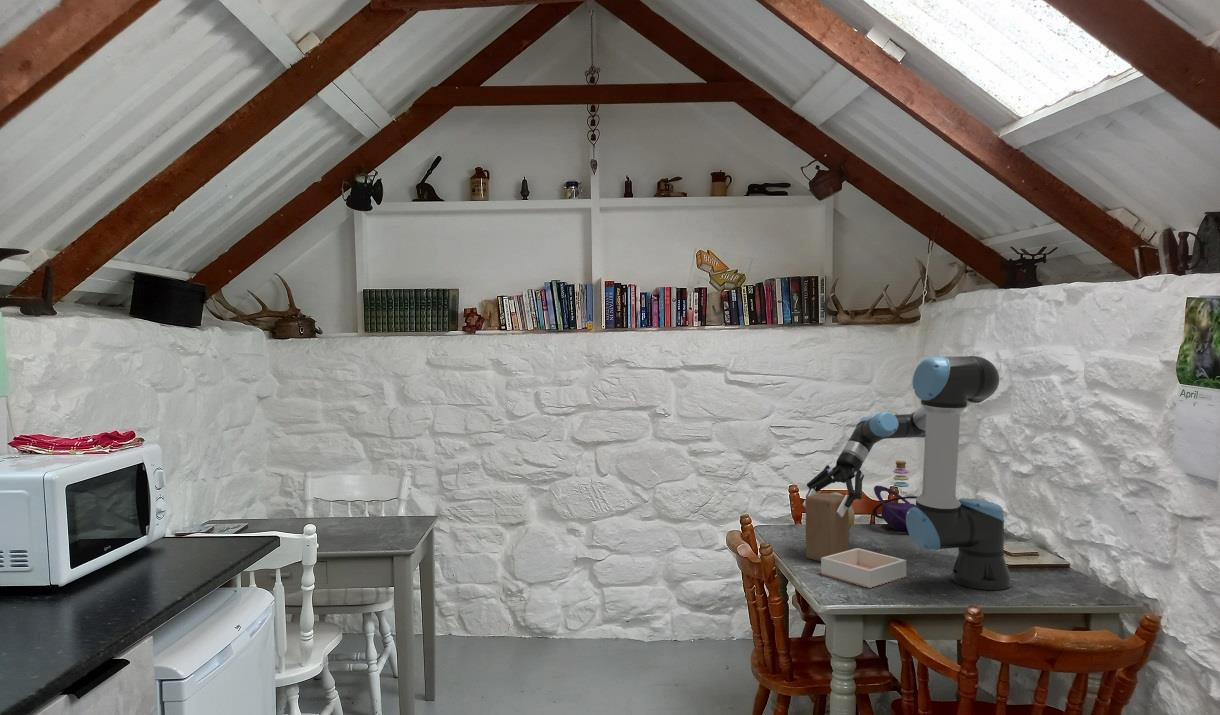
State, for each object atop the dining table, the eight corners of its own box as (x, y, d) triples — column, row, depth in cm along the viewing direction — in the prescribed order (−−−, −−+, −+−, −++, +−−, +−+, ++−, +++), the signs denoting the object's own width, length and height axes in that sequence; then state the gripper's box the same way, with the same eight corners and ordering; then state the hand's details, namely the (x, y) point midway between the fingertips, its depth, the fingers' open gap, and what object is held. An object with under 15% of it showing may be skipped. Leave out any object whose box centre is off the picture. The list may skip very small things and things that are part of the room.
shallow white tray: (906, 577, 224) (906, 560, 224) (870, 588, 214) (870, 571, 214) (857, 564, 238) (857, 548, 238) (821, 574, 228) (821, 557, 228)
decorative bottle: (926, 539, 265) (926, 467, 265) (864, 532, 276) (863, 463, 276) (936, 525, 285) (936, 458, 284) (878, 519, 295) (877, 455, 295)
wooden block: (831, 565, 237) (831, 500, 237) (804, 558, 245) (804, 496, 245) (850, 559, 244) (849, 496, 243) (823, 552, 252) (822, 491, 251)
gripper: (890, 470, 243) (860, 525, 234) (826, 461, 263) (797, 511, 255) (879, 455, 239) (849, 510, 231) (816, 447, 260) (786, 497, 251)
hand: (822, 510), depth 243 cm, fingers open, 13 cm apart
